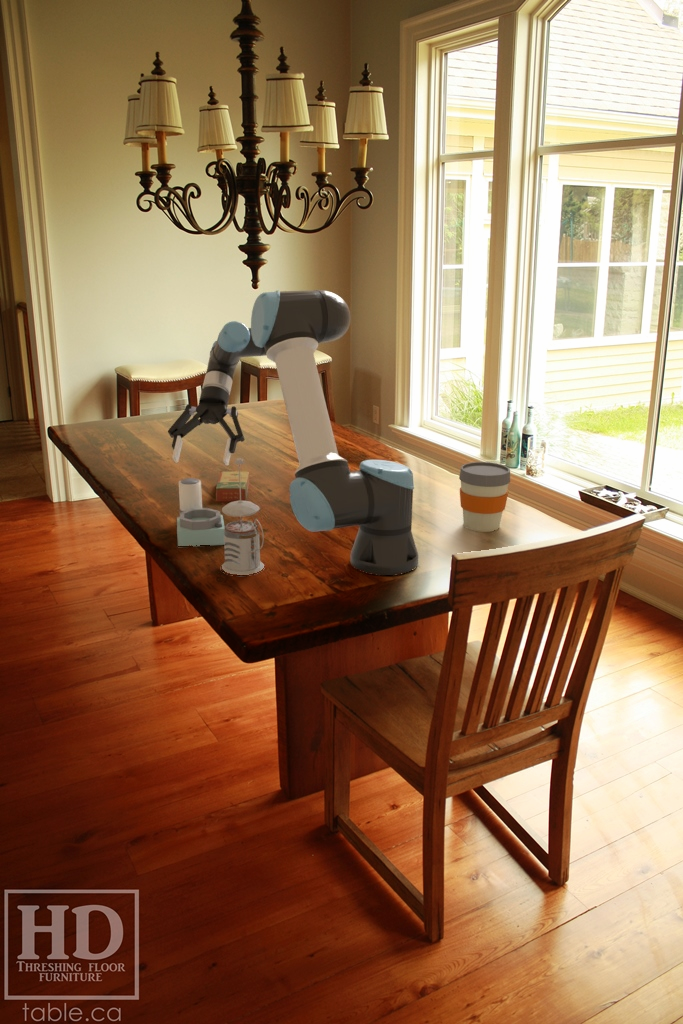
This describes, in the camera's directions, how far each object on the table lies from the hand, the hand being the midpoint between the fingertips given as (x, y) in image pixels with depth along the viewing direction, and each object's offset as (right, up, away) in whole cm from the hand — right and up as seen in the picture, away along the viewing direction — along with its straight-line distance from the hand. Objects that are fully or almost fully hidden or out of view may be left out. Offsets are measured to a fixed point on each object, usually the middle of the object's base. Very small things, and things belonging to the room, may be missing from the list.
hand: (200, 461), depth 217 cm
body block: (+3, -19, -14) cm, 24 cm away
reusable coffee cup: (+72, -17, -4) cm, 74 cm away
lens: (-1, -16, -4) cm, 17 cm away
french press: (+15, -26, -31) cm, 43 cm away
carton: (+6, -8, +20) cm, 22 cm away
